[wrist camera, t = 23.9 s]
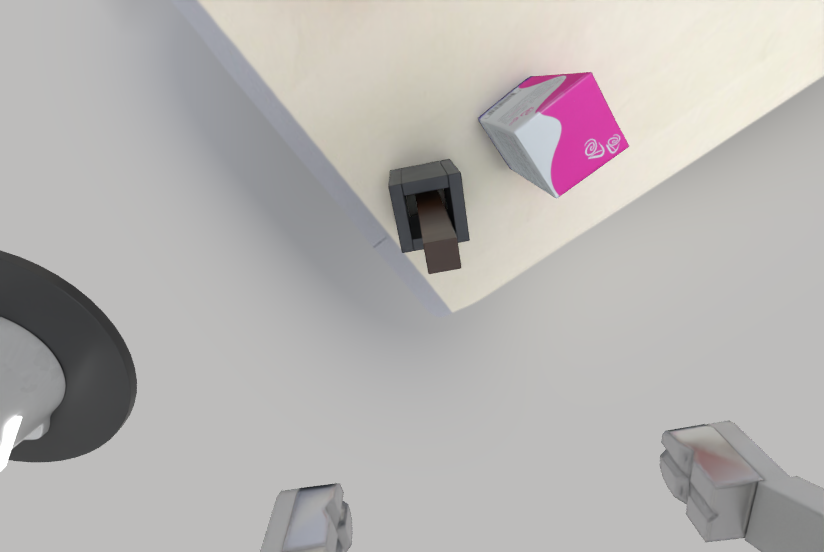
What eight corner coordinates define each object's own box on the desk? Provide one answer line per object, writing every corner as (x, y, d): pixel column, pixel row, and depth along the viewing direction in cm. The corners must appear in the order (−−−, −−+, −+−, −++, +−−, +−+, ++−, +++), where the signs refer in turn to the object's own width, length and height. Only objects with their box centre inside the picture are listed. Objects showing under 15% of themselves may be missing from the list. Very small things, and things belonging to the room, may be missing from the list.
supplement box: (511, 171, 38) (554, 202, 28) (476, 118, 36) (508, 128, 26) (566, 131, 37) (633, 147, 26) (532, 73, 35) (590, 65, 24)
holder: (401, 227, 40) (402, 253, 34) (389, 170, 38) (388, 186, 31) (458, 217, 40) (469, 240, 33) (450, 158, 37) (460, 172, 31)
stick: (417, 206, 39) (428, 274, 25) (413, 186, 38) (423, 243, 24) (438, 202, 39) (461, 268, 24) (434, 182, 38) (456, 237, 24)
